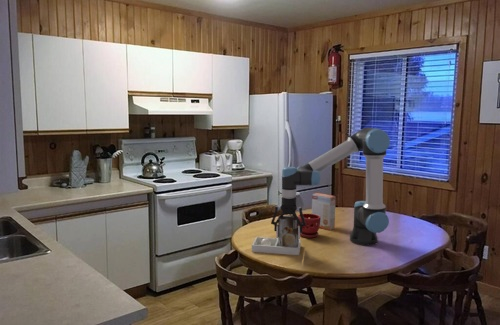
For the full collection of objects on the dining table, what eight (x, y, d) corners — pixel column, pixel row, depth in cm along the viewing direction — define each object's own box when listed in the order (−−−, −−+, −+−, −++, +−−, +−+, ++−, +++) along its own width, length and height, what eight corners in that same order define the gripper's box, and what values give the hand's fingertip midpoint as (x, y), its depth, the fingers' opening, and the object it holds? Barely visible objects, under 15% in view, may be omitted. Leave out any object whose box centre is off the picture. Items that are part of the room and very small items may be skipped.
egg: (271, 246, 224) (271, 237, 224) (269, 250, 219) (269, 240, 219) (261, 245, 225) (261, 236, 225) (260, 249, 220) (260, 239, 219)
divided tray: (300, 247, 226) (300, 239, 225) (298, 256, 213) (299, 248, 212) (256, 244, 230) (256, 236, 230) (251, 253, 217) (251, 245, 216)
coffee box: (294, 243, 224) (294, 214, 222) (298, 247, 218) (298, 217, 216) (277, 245, 222) (278, 215, 219) (281, 249, 216) (282, 219, 213)
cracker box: (334, 228, 260) (336, 195, 257) (329, 230, 256) (330, 197, 253) (316, 223, 270) (317, 192, 267) (311, 225, 266) (311, 193, 263)
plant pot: (319, 239, 239) (320, 219, 237) (296, 238, 242) (297, 218, 240) (320, 232, 252) (321, 213, 250) (298, 231, 254) (298, 212, 253)
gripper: (311, 196, 218) (310, 237, 221) (267, 194, 222) (267, 234, 225) (311, 199, 210) (310, 241, 213) (265, 197, 214) (265, 238, 218)
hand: (288, 237), depth 219 cm, fingers closed on coffee box, 11 cm apart
